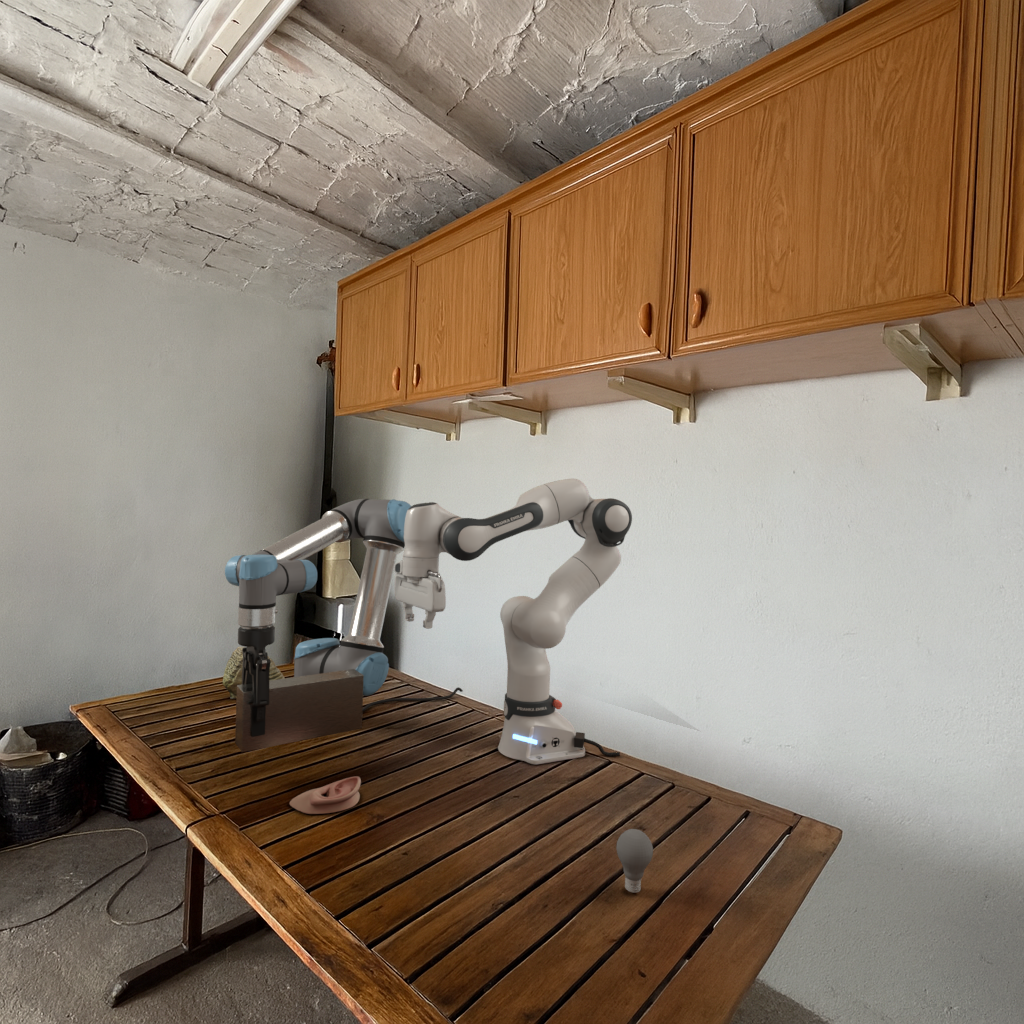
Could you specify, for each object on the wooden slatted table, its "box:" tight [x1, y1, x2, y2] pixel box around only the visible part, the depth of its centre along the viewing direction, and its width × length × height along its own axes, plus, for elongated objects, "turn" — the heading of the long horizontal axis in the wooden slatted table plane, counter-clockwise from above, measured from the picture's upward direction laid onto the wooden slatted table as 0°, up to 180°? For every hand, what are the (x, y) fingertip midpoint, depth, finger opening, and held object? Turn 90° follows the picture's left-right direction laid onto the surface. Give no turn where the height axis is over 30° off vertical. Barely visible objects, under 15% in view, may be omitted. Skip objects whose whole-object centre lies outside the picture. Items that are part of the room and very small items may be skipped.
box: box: [234, 669, 364, 753], centre depth 145 cm, size 27×6×13 cm, turn 126°
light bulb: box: [615, 828, 654, 894], centre depth 106 cm, size 6×6×10 cm
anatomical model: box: [289, 775, 362, 815], centre depth 131 cm, size 13×4×12 cm
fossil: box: [222, 646, 285, 699], centre depth 198 cm, size 9×18×15 cm, turn 132°
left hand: (253, 730), depth 139 cm, fingers closed on box, 6 cm apart
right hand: (418, 624), depth 155 cm, fingers open, 8 cm apart
